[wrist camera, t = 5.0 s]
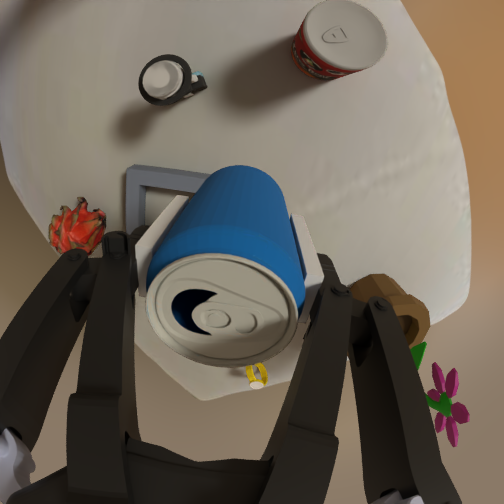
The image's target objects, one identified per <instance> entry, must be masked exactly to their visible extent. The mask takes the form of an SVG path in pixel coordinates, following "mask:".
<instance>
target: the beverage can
mask: <svg viewBox="0 0 504 504" xmlns="http://www.w3.org/2000/svg"><path fill="white" fill-rule="evenodd" d="M146 292H147V295H146V301H145V303H146V313H147V317H148V320H149V323H150V325H151V327H152V329H153V330H154V331H155V333H156V334H157V336H158V337H159V338H160V339H161V340H162V341H163V342H164V343H165V344H166V345H167V346H168V347H170V348H171V349H172V350H174V351H175V352H177V353H178V354H180V355H182V356H184V357H186V358H188V359H190V360H193V361H195V362H198V363H202V364H205V365H210V366H215V367H227V368H234V367H245V366H250V365H255V364H258V363H261V362H264V361H266V360H268V359H270V358H272V357H274V356H275V355H277V354H278V353H280V352H281V351H282V350H283V349H284V348H285V347H286V346H287V345H288V344H289V343H290V341H291V340H292V338H293V336H294V334H295V332H296V329H297V325H298V320H299V318H300V316H301V314H302V311H303V307H304V303H305V284H304V279H303V275H302V270H301V266H300V262H299V257H298V253H297V249H296V244H295V240H294V236H293V232H292V228H291V224H290V220H289V216H288V212H287V208H286V204H285V200H284V196H283V194H282V191H281V189H280V187H279V186H278V184H277V183H276V182H275V181H274V180H273V179H272V178H271V177H270V176H269V175H268V174H266V173H265V172H263V171H261V170H259V169H257V168H254V167H250V166H243V165H235V166H229V167H225V168H222V169H220V170H218V171H216V172H214V173H213V174H212V175H210V176H209V177H208V178H207V179H206V180H205V181H204V182H203V184H202V185H201V186H200V188H199V189H198V191H197V192H196V193H195V195H194V196H193V198H192V199H191V200H190V202H189V203H188V205H187V206H186V208H185V209H184V210H183V212H182V213H181V215H180V216H179V218H178V219H177V221H176V222H175V224H174V225H173V227H172V228H171V230H170V231H169V233H168V234H167V236H166V237H165V239H164V240H163V242H162V243H161V245H160V246H159V248H158V250H157V251H156V253H155V254H154V256H153V258H152V260H151V262H150V264H149V267H148V271H147V277H146Z"/></svg>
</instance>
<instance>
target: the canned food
mask: <svg viewBox="0 0 504 504" xmlns="http://www.w3.org/2000/svg"><path fill="white" fill-rule="evenodd" d="M387 45H388V40H387V34H386V30H385V28H384V26H383V24H382V23H381V21H380V20H379V18H378V17H377V16H376V15H375V14H374V13H373V12H372V11H370V10H369V9H368V8H366V7H364V6H363V5H361V4H359V3H356V2H353V1H350V0H326V1H323V2H321V3H319V4H317V5H316V6H314V7H313V8H312V9H311V10H310V11H309V12H308V13H307V15H306V17H305V19H304V20H303V22H302V24H301V26H300V28H299V30H298V32H297V34H296V36H295V38H294V40H293V43H292V47H291V53H292V58H293V60H294V62H295V64H296V65H297V66H298V68H299V69H300V70H301V71H302V72H304V73H305V74H307V75H308V76H311V77H313V78H316V79H320V80H333V79H337V78H340V77H343V76H346V75H349V74H352V73H355V72H358V71H362V70H364V69H367V68H369V67H371V66H373V65H375V64H376V63H377V62H379V61H380V60H381V59H382V57H383V56H384V54H385V52H386V50H387Z"/></svg>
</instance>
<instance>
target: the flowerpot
mask: <svg viewBox="0 0 504 504" xmlns="http://www.w3.org/2000/svg"><path fill="white" fill-rule="evenodd" d="M350 290H351V292H352V295H353V298H355V299H357V300H360V301H363V302H366V303H367V302H368V300H369V298H370V297H373V296H378V297H382V298H384V299H386V300H387V301H388V302H389V303H390V304H391V305H392V306H393V308H394V311H395V313H396V315H397V318H398V320H399V323H400V325H401V328H402V330H403V333H404V335H405V338H406V340H407V343H408V346H409V348H410V351H411V354H412V356H413V359H414V362H415V365H416V368H417V371H418V369H419V366H420V364H421V361H422V358H423V355H424V351H425V348H426V345H427V343H426V342H423V343H421V342H422V341H423V339H424V337H425V335H426V333H427V332H428V330H429V328H430V318H429V311H428V309H427V308H426V306H425V305H424V303H423V302H421V301H420V300H418V299H417V298H415V297H414V296H412V295H410V294H409V295H407V294H406V293H405V291H404V290H403V289H402V288H401V287H400V286H399V285H398V284H397V283H396V282H395V280H394V279H392V278H390V277H389V276H387V275H386V274H370V275H368V276H366V277H364V278H362V279H360V280H358V281H356V282H355V283H354V285H353V286H352V287H351V288H350ZM347 356H348V358H349V354H348V353H347ZM432 377H433V380H434V383H435V387H436V389H437V390H438V391H437V390H435V389H431V390H429V391H428V392H427V394H428V395H427V394H426V393H425V396H426V399H427V402H428V406H430V407H431V408H433V409H435V410H437V411H439V412H438V413H437V415H436V418H435V429H436V432H437V433H439V432H440V431H442V430H443V429H444V427H445V425H446V431H447V436H448V440H449V441H450V443H451V444H452V446H453V447H456V446H457V442H458V430H457V426H456V422H458V423H459V424H462V423H466V422H469V413H468V411H467V409H466V407H465V406H464V405H463V404H461V403H459V402H457V403H454V404H452V401H451V398H452V397H453V396H455V395H456V392H457V389H458V385H459V382H458V373H457V371H456V370H455V368H453V369H452V370H451V371H450V372H449V373H448V374H447V377H446V382H445V380H444V376H443V373H442V370H441V368H440V367H439V366H438V365H437V363H436V362H434V363H433V364H432ZM445 390H446V392H445ZM439 393H440V394H441V395H440V394H439ZM451 414H452V416H453V418H452V417H451ZM446 417H447V419H446ZM455 421H456V422H455Z"/></svg>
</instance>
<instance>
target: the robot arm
mask: <svg viewBox="0 0 504 504" xmlns="http://www.w3.org/2000/svg"><path fill="white" fill-rule="evenodd" d="M188 200H189V197H188V196H181V195H177V196H176V197H175V198H174V199H173V200H172V201H171V203H170V204H169V205H168V206H167V207H166V208H165V210H164V211H163V212H162V213H161V214H160V215H159V217H158V218H157V219H156V220H155V221H154V223H153V224H152V225H151V226H145V225H141V226H139V227H137V228H135V229H134V230H133V232H132V233H131V234H130V235H129V234H128V233H126V232H123V231H112V232H109V233H106V234H105V235H103V236H102V238H101V242H102V250H103V257H102V258H88V255H87V251H85V250H84V249H81V248H74V249H70V250H68V251H66V252H65V253H64V254H63V255H62V256H61V257H60V258H59V259H58V260H57V262H56V263H55V264H54V265H53V266H52V268H51V269H50V270H49V271H48V272H47V274H46V275H45V276H44V277H43V279H42V280H41V281H40V283H39V284H38V285H37V286H36V288H35V289H34V290H33V292H32V293H31V294H30V296H29V297H28V298H27V300H26V301H25V302H24V304H23V305H22V307H21V308H20V309H19V311H18V312H17V314H16V315H15V317H14V319H13V320H12V321H11V323H10V324H9V326H8V327H7V329H6V331H5V332H4V334H3V335H2V337H1V339H0V501H1V502H2V503H3V504H323V503H324V500H325V497H326V494H327V490H328V487H329V483H330V479H331V475H332V471H333V468H334V464H335V459H336V455H337V451H338V444H339V440H338V438H337V437H336V436H335V435H334V432H335V426H336V421H337V416H338V411H339V405H340V400H341V394H342V388H343V381H344V374H345V367H346V361H347V353H348V354H349V360H350V366H351V372H352V378H353V384H354V392H355V399H356V406H357V413H358V423H359V432H360V440H361V441H360V442H361V453H362V466H363V481H364V489H365V494H366V499H367V503H368V504H462V501H461V499H460V497H459V495H458V493H457V491H456V489H455V487H454V485H453V483H452V481H451V479H450V477H449V475H448V473H447V471H446V469H445V467H444V465H443V464H442V461H441V456H440V451H439V446H438V441H437V437H436V433H435V429H434V425H433V421H432V417H431V413H430V410H429V406H428V402H427V399H426V396H425V392H424V389H423V386H422V383H421V380H420V377H419V374H418V371H417V368H416V365H415V362H414V359H413V356H412V354H411V351H410V348H409V346H408V343H407V340H406V338H405V335H404V333H403V330H402V328H401V325H400V323H399V320H398V318H397V315H396V313H395V311H394V308H393V306H392V305H391V304H390V303H389V302H388V301H387V300H386V299H384V298H382V297H378V296H373V297H370V298H369V300H368V302H367V303H366V302H363V301H360V300H357V299H355V298H353V295H352V292H351V290H350V289H349V288H348V287H346V286H345V285H343V284H341V282H340V280H339V277H338V275H337V272H336V270H335V267H334V265H333V263H332V260H331V259H330V258H329V257H328V256H327V255H325V254H319V253H316V250H315V248H314V245H313V242H312V239H311V236H310V234H309V231H308V228H307V225H306V223H305V220H304V217H303V216H301V215H296V214H291V217H290V224H291V228H292V232H293V236H294V240H295V244H296V249H297V253H298V257H299V262H300V266H301V270H302V275H303V279H304V284H305V303H304V307H303V311H302V314H301V316H300V318H299V320H298V322H300V323H306V321H307V319H308V317H309V314H310V319H311V322H310V324H309V326H308V329H307V331H306V333H305V335H304V338H303V339H304V342H303V346H302V349H301V352H300V355H299V358H298V362H297V365H296V368H295V371H294V374H293V377H292V380H291V383H290V386H289V389H288V392H287V395H286V397H285V400H284V404H283V406H282V408H281V411H280V414H279V417H278V419H277V422H276V425H275V427H274V430H273V432H272V435H271V437H270V440H269V442H268V445H267V447H266V450H265V452H264V454H263V455H262V457H261V459H260V460H244V459H227V460H216V461H205V462H204V461H203V462H197V461H193V460H190V459H188V458H185V457H183V456H181V455H179V454H176V453H174V452H172V451H170V450H168V449H166V448H164V447H161V446H158V445H154V444H149V443H146V442H142V441H141V437H140V434H139V428H138V419H137V407H136V392H135V368H134V325H135V291H136V290H137V288H138V291H139V296H141V297H146V295H147V292H146V277H147V271H148V267H149V264H150V262H151V260H152V258H153V256H154V254H155V253H156V251H157V250H158V248H159V246H160V245H161V243H162V242H163V240H164V239H165V237H166V236H167V234H168V233H169V231H170V230H171V228H172V227H173V225H174V224H175V222H176V221H177V219H178V218H179V216H180V215H181V213H182V212H183V210H184V209H185V208H186V206H187V205H188ZM86 320H87V322H86ZM85 322H86V327H85V333H84V338H83V345H82V351H81V358H80V365H79V374H78V384H77V391H76V393H73V394H71V395H70V397H69V401H68V411H67V435H66V441H67V442H66V443H67V444H66V448H67V450H66V452H67V466H65V467H64V468H62V469H60V470H58V471H56V472H54V473H52V474H50V475H49V476H47V477H45V478H43V479H41V480H39V481H37V482H35V483H33V484H31V483H30V473H32V472H34V470H35V463H34V461H33V459H32V455H31V451H32V449H33V447H34V446H35V443H36V442H37V440H38V437H39V435H40V432H41V429H42V426H43V423H44V420H45V417H46V414H47V411H48V408H49V405H50V403H51V400H52V397H53V394H54V392H55V389H56V386H57V384H58V382H59V379H60V377H61V374H62V372H63V369H64V367H65V365H66V362H67V360H68V358H69V356H70V353H71V351H72V349H73V347H74V344H75V342H76V340H77V338H78V336H79V334H80V332H81V330H82V328H83V326H84V323H85Z"/></svg>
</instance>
